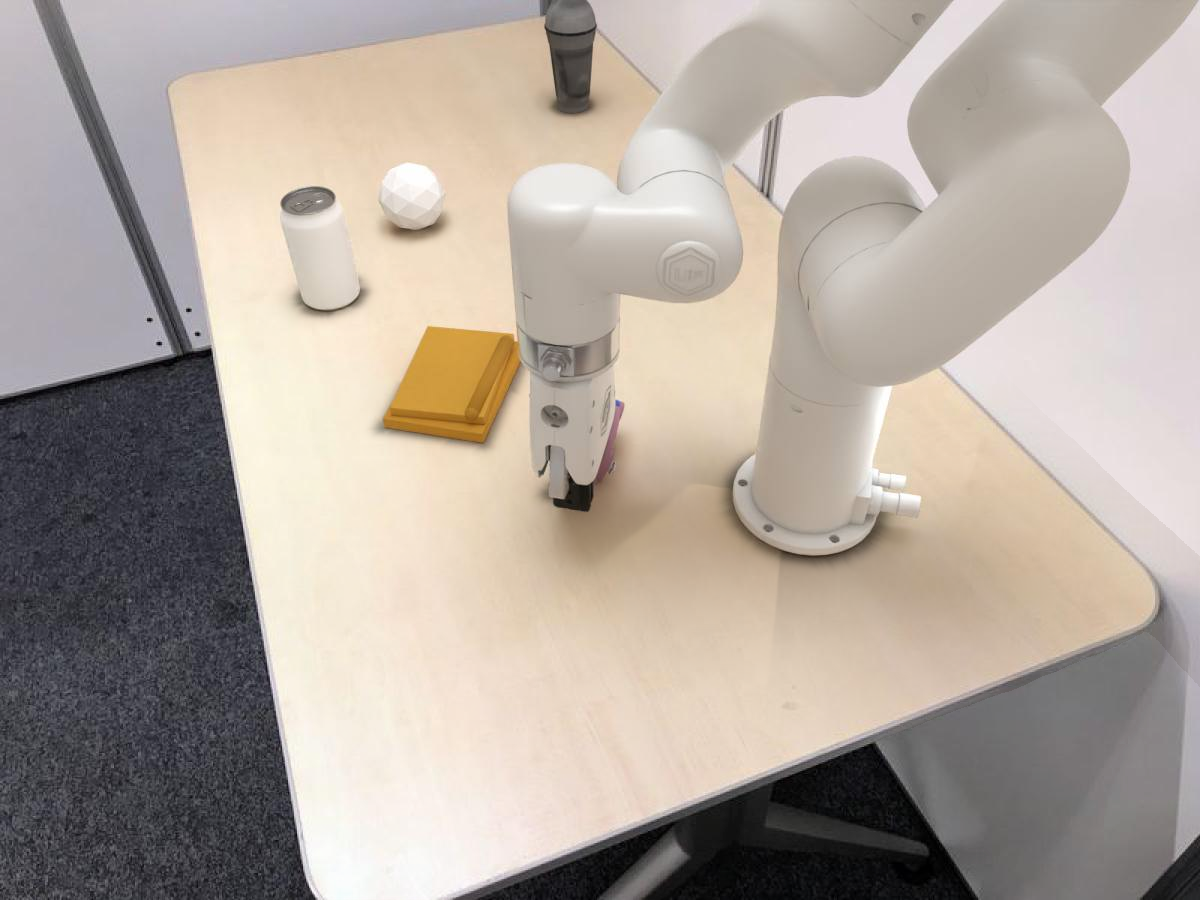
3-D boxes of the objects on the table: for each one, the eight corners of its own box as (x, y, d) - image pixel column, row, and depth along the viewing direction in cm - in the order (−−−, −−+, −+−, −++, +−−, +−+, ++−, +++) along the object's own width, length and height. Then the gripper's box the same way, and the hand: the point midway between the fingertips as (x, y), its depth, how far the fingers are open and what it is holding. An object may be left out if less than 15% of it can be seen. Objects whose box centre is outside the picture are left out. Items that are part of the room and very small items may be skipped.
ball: (428, 234, 122) (454, 176, 120) (427, 247, 115) (455, 185, 112) (371, 207, 120) (397, 147, 117) (366, 218, 112) (393, 155, 110)
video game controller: (588, 513, 87) (624, 468, 82) (542, 493, 86) (575, 446, 81) (604, 437, 94) (637, 392, 89) (562, 418, 93) (593, 371, 88)
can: (372, 293, 108) (352, 198, 100) (325, 320, 105) (299, 223, 97) (338, 271, 111) (315, 177, 103) (290, 296, 108) (263, 200, 100)
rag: (525, 351, 101) (523, 329, 99) (483, 443, 91) (480, 420, 89) (432, 338, 102) (428, 316, 100) (382, 427, 93) (376, 404, 91)
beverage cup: (597, 117, 138) (595, -31, 124) (546, 117, 138) (539, -31, 124) (598, 94, 143) (596, -50, 129) (549, 95, 144) (542, -50, 129)
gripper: (597, 409, 65) (597, 577, 78) (637, 282, 75) (632, 449, 88) (489, 393, 66) (508, 562, 79) (544, 271, 76) (552, 438, 89)
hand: (573, 502), depth 83 cm, fingers closed
